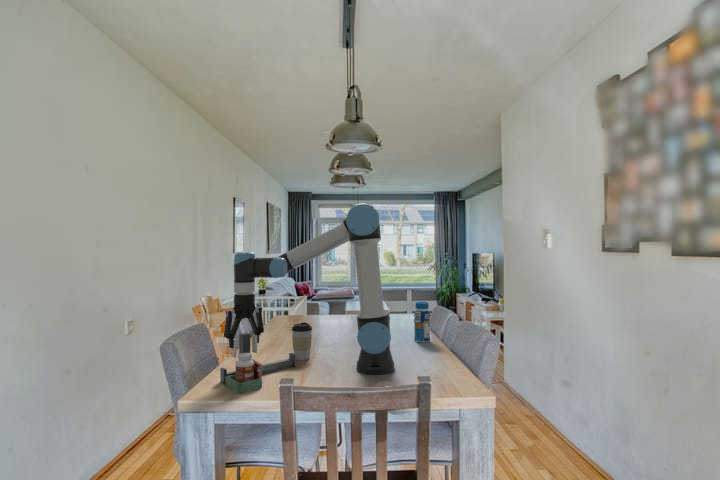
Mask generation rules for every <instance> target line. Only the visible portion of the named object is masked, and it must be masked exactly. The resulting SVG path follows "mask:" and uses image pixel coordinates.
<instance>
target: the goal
mask: <svg viewBox="0 0 720 480" xmlns="http://www.w3.org/2000/svg"><path fill="white" fill-rule="evenodd" d="M224 386H226V388H229V389H230V390H232V391H234V392H235V393H236V394H238V395H239V394H242V393H247V392H250V391H253V390H258V389H261V388H263V378H262V379H261V378H259V379H255V380H251V381H247V382H243V383H239V382H237V381H236V374H235V375H230V376H226V377H225V384H224Z"/></svg>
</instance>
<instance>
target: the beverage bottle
mask: <svg viewBox="0 0 720 480" xmlns="http://www.w3.org/2000/svg"><path fill="white" fill-rule="evenodd" d="M414 304H415V309H416V310H415V312H414V315H413V317H414V319H413V323H414V324H413V325H414V339H413V340H414V342H416V343H420V342H422V344H423V343H424V344H426V343H429V342H430V341H431V319H430V317H431V314H430V312H429V309H430V308H429V305H430V304H429V302H428V301H416V302H415V303H414Z"/></svg>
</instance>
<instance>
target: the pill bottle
mask: <svg viewBox="0 0 720 480" xmlns="http://www.w3.org/2000/svg"><path fill="white" fill-rule="evenodd" d="M252 356H253V354H252V353H251V352H250V353H241V354H239V353H238V355H237V360H236V361H237V362H236V361H235V371H236V381H237V382H239V383H243V382H247V381H251V380H254V361H255V360H254V359H253V357H252ZM251 359H253V360H254V361H253V360H251Z"/></svg>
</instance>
